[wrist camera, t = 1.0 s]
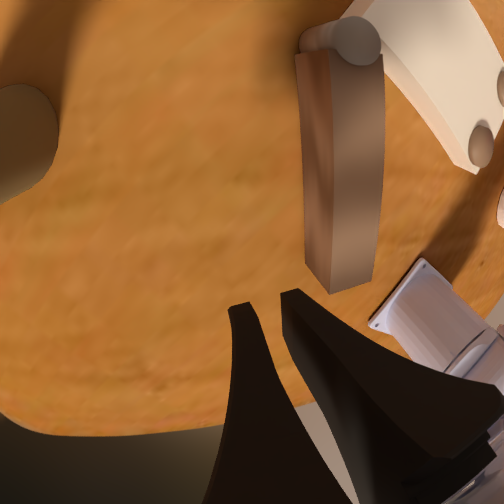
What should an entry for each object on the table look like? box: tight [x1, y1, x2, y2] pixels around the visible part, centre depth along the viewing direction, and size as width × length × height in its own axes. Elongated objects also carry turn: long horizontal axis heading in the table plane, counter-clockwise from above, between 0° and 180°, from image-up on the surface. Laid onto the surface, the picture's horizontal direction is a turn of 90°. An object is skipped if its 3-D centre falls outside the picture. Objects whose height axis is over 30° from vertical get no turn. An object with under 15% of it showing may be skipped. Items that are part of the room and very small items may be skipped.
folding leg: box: [295, 16, 385, 295], centre depth 15 cm, size 15×3×4 cm, turn 6°
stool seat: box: [340, 0, 504, 174], centre depth 13 cm, size 15×10×3 cm, turn 56°
